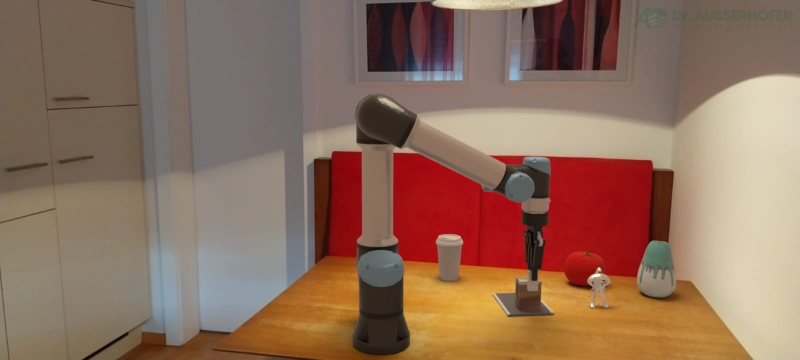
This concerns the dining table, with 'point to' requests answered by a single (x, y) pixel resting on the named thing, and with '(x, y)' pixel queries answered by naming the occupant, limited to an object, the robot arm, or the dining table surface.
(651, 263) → the vase
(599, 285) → the figurine
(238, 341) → the dining table surface
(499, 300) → the mat
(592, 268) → the tomato
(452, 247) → the coffee cup
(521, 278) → the block
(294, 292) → the dining table surface
